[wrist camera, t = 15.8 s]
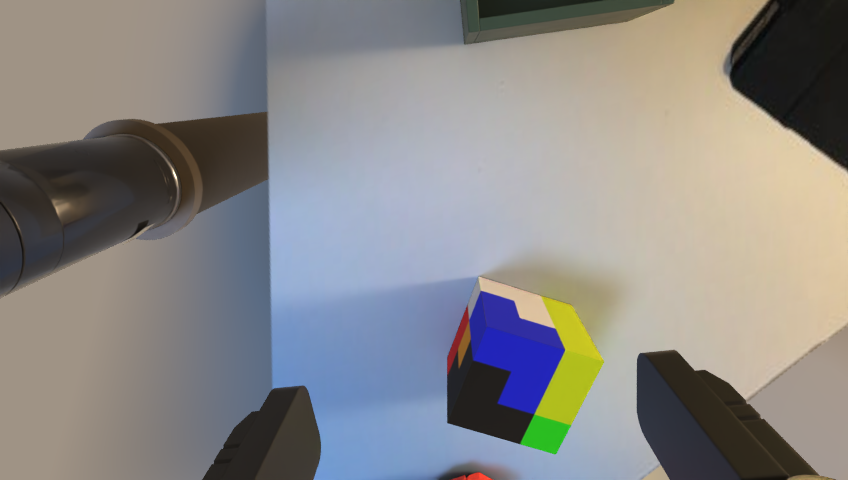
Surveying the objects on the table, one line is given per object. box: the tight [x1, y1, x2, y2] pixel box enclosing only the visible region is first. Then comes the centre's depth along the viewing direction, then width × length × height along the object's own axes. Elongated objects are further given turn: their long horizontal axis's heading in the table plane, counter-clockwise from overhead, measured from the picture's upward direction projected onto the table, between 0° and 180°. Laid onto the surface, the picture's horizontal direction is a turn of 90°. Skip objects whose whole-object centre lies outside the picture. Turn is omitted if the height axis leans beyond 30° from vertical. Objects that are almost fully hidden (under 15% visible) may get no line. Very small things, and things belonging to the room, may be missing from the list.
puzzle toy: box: [447, 276, 604, 454], centre depth 42 cm, size 10×10×10 cm
